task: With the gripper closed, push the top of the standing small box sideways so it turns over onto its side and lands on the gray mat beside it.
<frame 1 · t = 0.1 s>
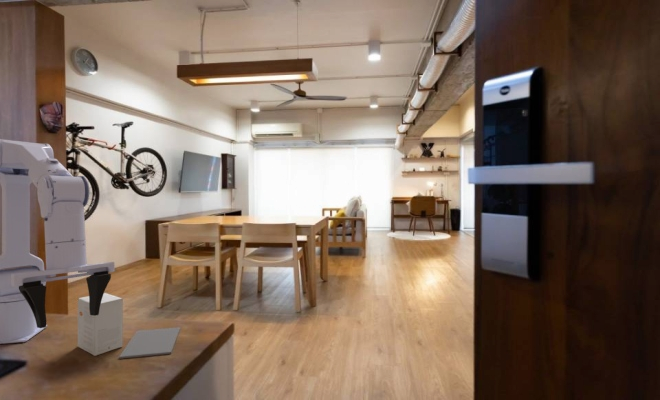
hand: (69, 320, 60), 10 cm above the counter, tool pointing down, fingers open, 7 cm apart
gray mat: (152, 342, 77), on the counter
small box: (100, 348, 74), on the counter
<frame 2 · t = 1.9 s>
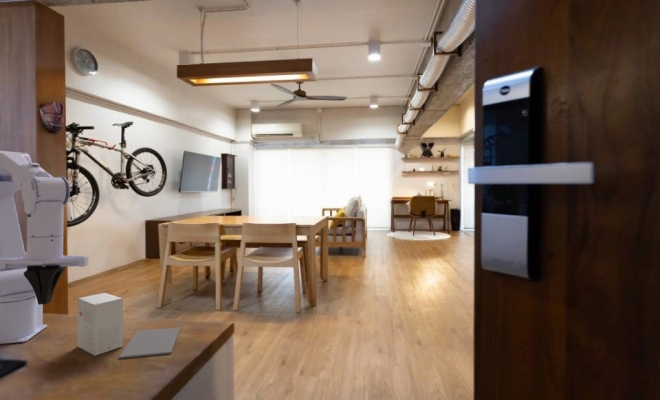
hand: (44, 303, 70), 10 cm above the counter, tool pointing down, fingers closed
nothing on the counter moved.
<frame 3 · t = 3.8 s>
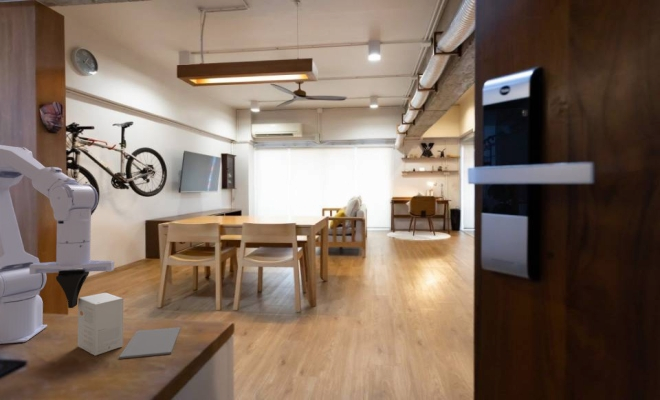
hand: (72, 306, 73), 9 cm above the counter, tool pointing down, fingers closed, pressing on small box
small box: (100, 347, 74), on the counter, touching gripper
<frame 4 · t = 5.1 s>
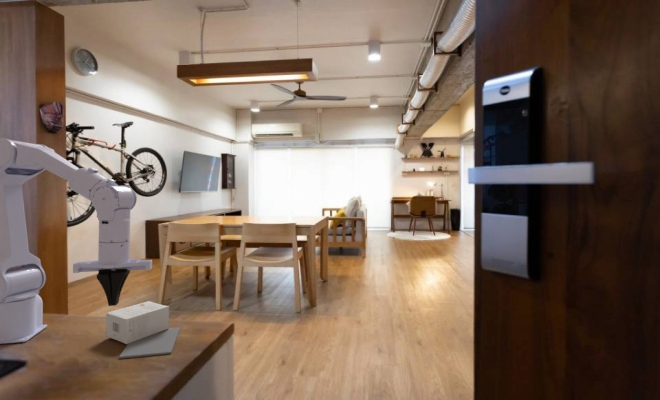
hand: (113, 304, 75), 9 cm above the counter, tool pointing down, fingers closed
small box: (114, 328, 76), point 3 cm above the counter, touching gray mat
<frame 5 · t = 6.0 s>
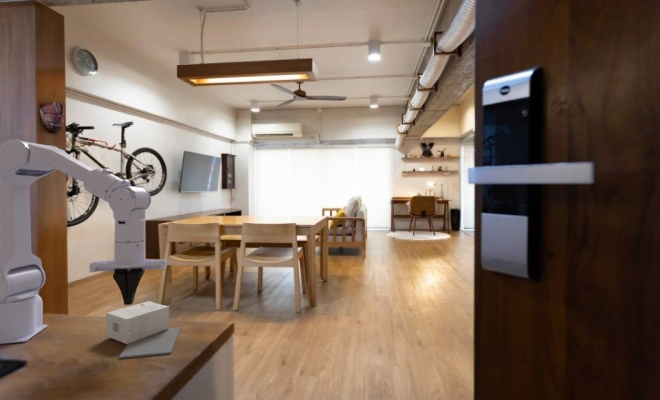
hand: (128, 303, 76), 9 cm above the counter, tool pointing down, fingers closed
nothing on the counter moved.
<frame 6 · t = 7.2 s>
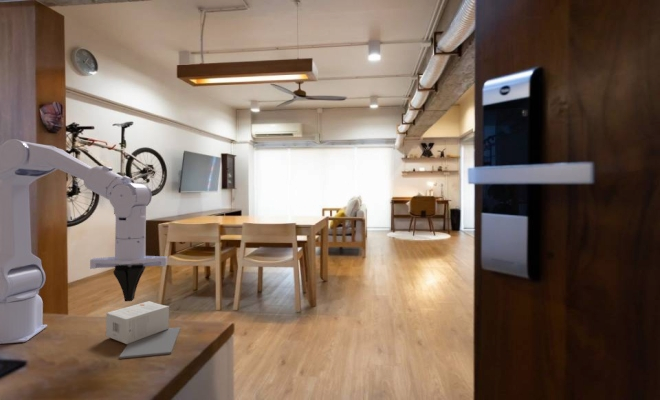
hand: (129, 300, 76), 10 cm above the counter, tool pointing down, fingers closed
nothing on the counter moved.
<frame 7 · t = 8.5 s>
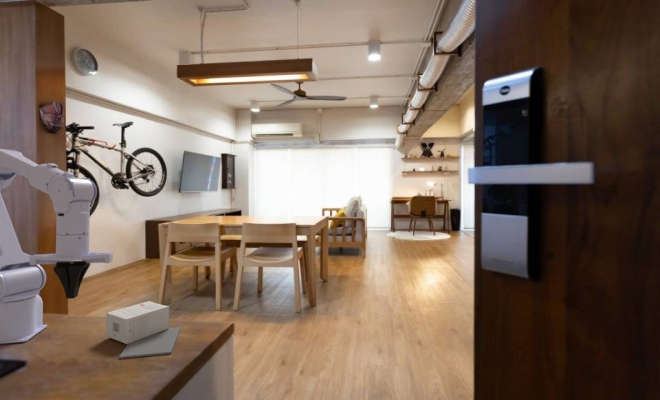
hand: (72, 297, 74), 10 cm above the counter, tool pointing down, fingers closed
nothing on the counter moved.
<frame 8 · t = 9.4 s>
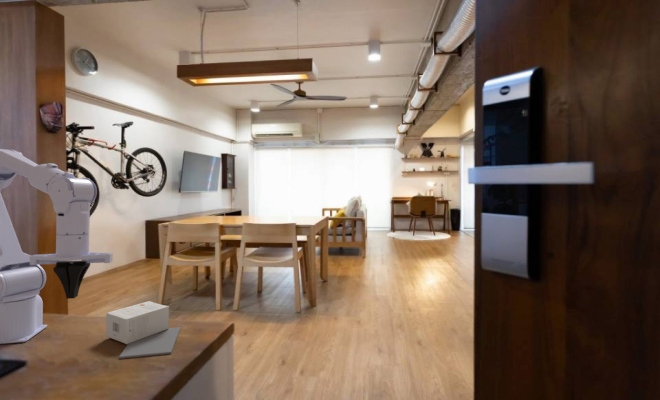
hand: (72, 297, 74), 10 cm above the counter, tool pointing down, fingers closed
nothing on the counter moved.
at the end: small box tilted 90°; small box inside the target area (3.5 cm from its centre), point 3.2 cm above the counter; small box touching gray mat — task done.
